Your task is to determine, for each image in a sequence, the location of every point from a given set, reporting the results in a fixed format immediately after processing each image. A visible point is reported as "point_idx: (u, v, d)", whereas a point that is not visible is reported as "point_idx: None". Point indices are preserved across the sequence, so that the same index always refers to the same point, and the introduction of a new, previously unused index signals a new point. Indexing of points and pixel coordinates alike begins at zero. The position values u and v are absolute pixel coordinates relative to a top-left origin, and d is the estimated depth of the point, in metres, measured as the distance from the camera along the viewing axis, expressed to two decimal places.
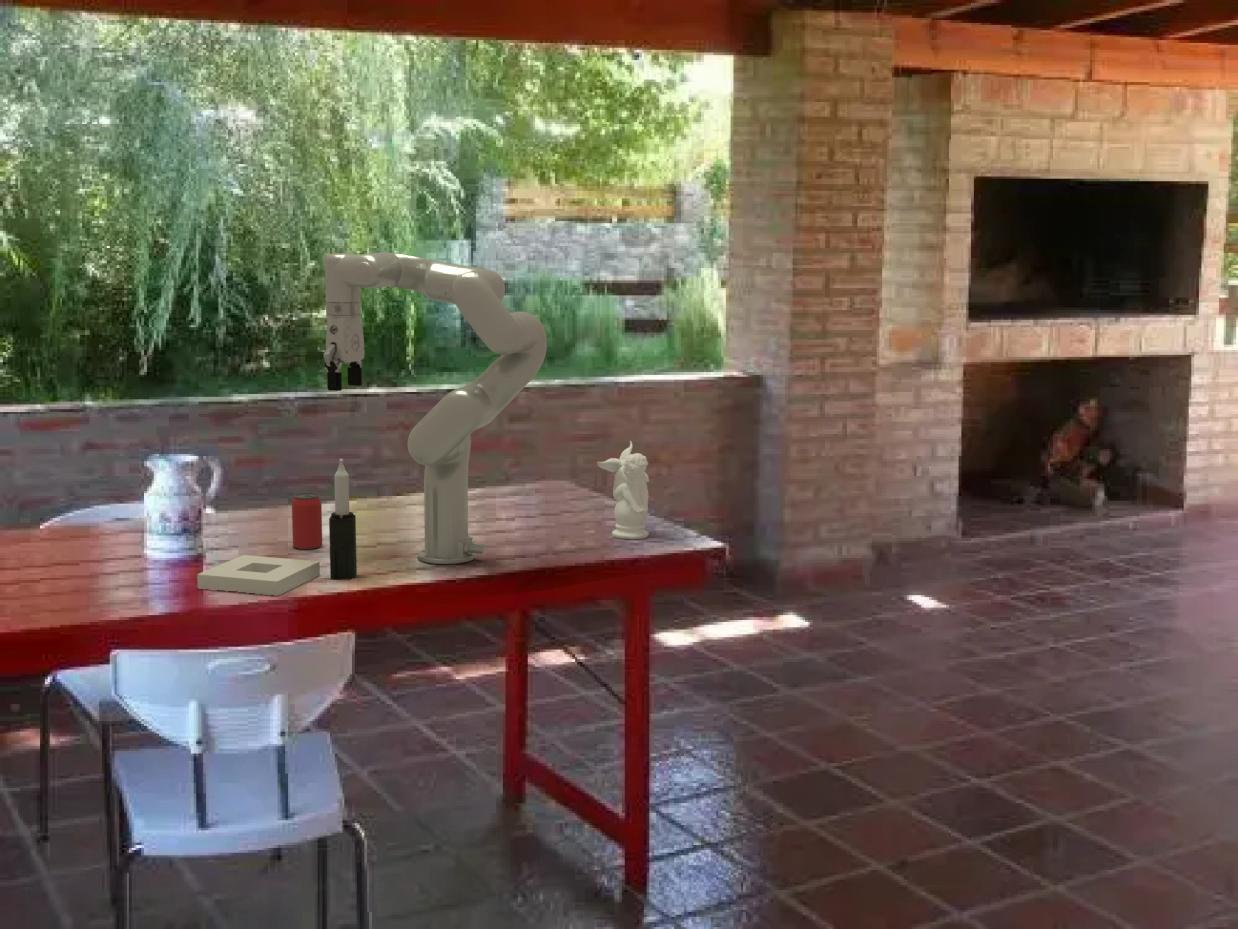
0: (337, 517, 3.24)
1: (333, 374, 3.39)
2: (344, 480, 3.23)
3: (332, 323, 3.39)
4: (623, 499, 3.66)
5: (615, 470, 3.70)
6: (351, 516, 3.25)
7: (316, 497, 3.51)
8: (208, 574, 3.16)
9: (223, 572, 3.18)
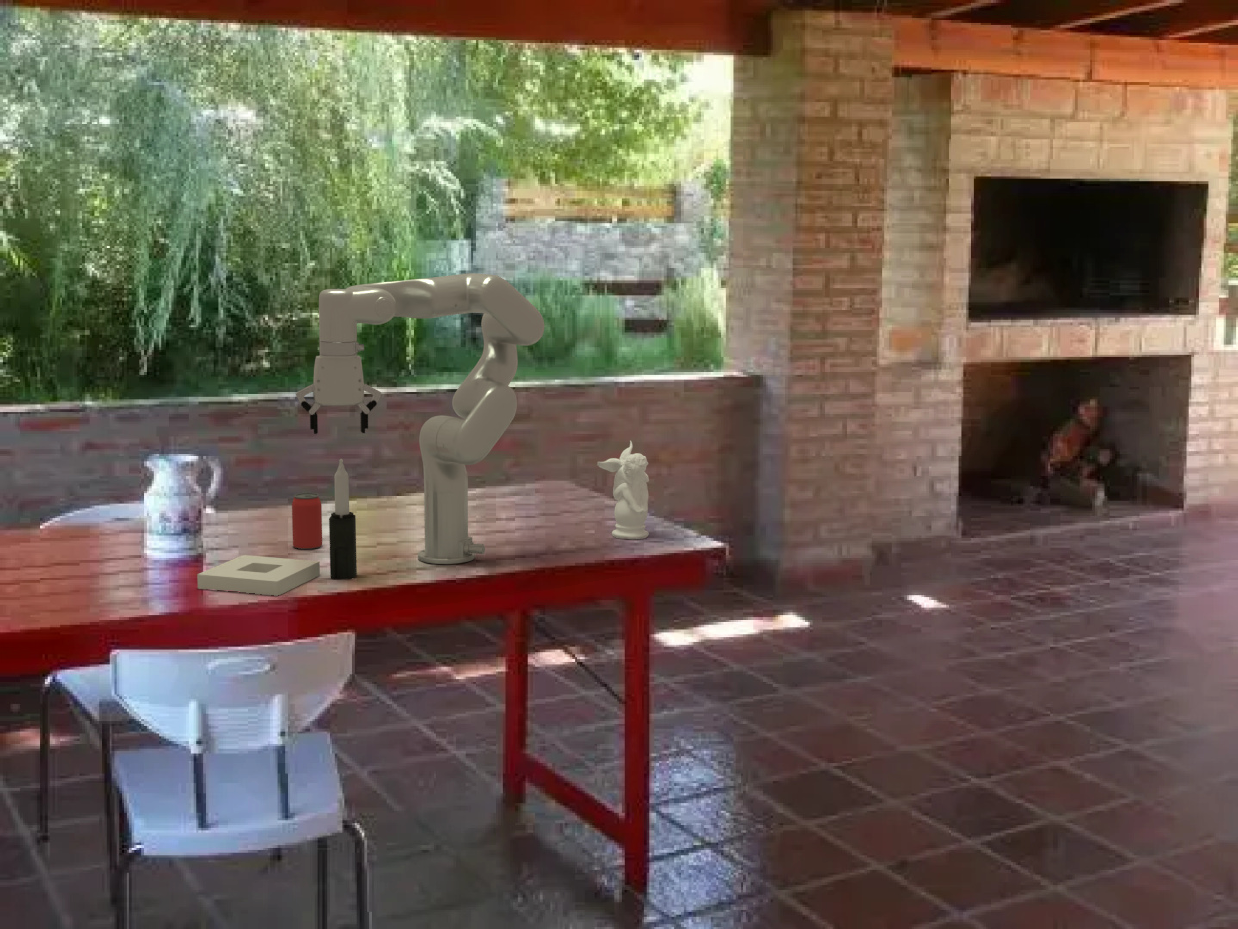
0: (337, 517, 3.24)
1: None
2: (344, 480, 3.23)
3: None
4: (623, 499, 3.66)
5: (615, 470, 3.70)
6: (351, 516, 3.25)
7: (316, 497, 3.51)
8: (208, 574, 3.16)
9: (223, 572, 3.18)
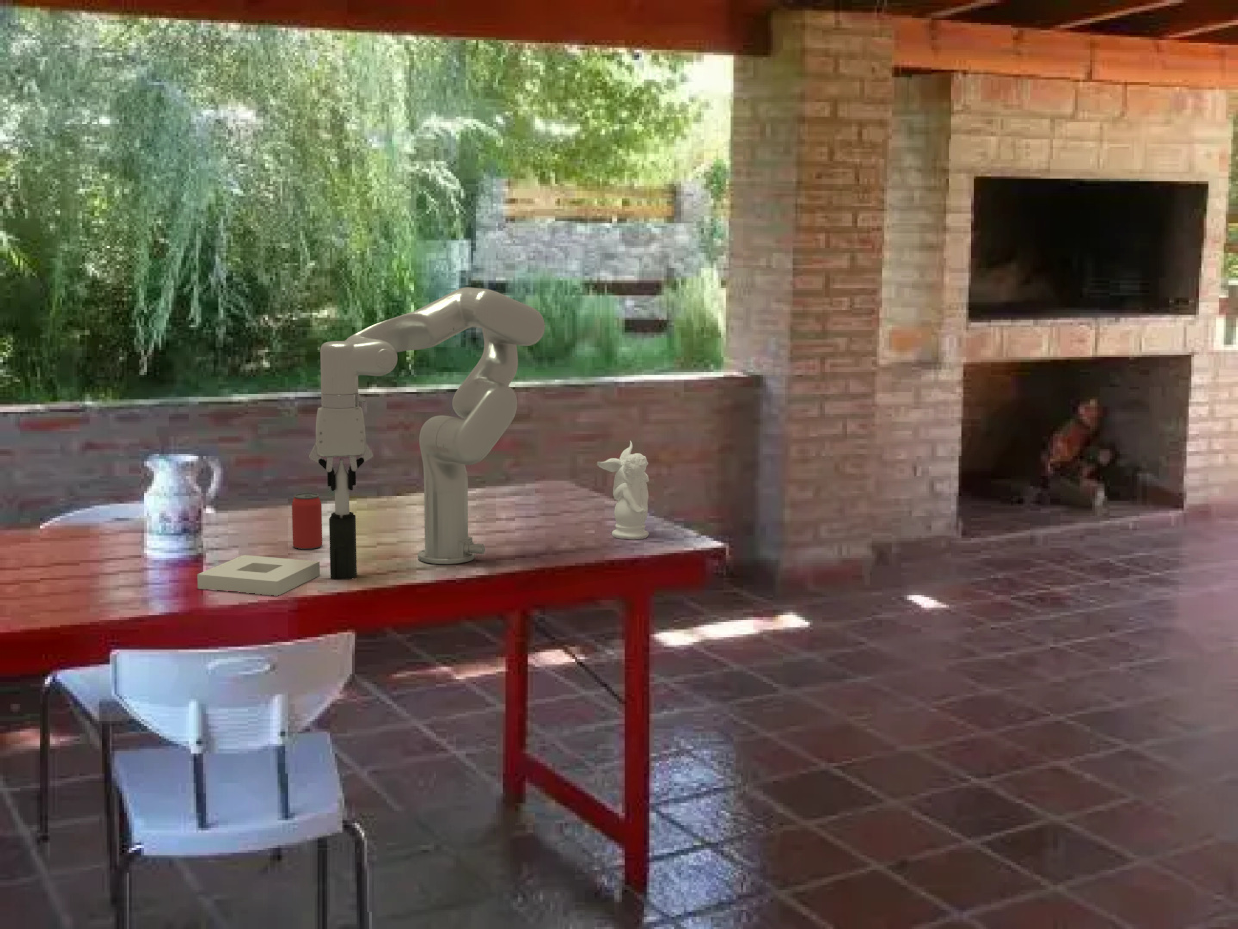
0: (337, 517, 3.24)
1: None
2: (344, 480, 3.23)
3: (362, 413, 3.23)
4: (623, 499, 3.66)
5: (615, 470, 3.70)
6: (351, 516, 3.25)
7: (316, 497, 3.51)
8: (208, 574, 3.16)
9: (223, 572, 3.18)
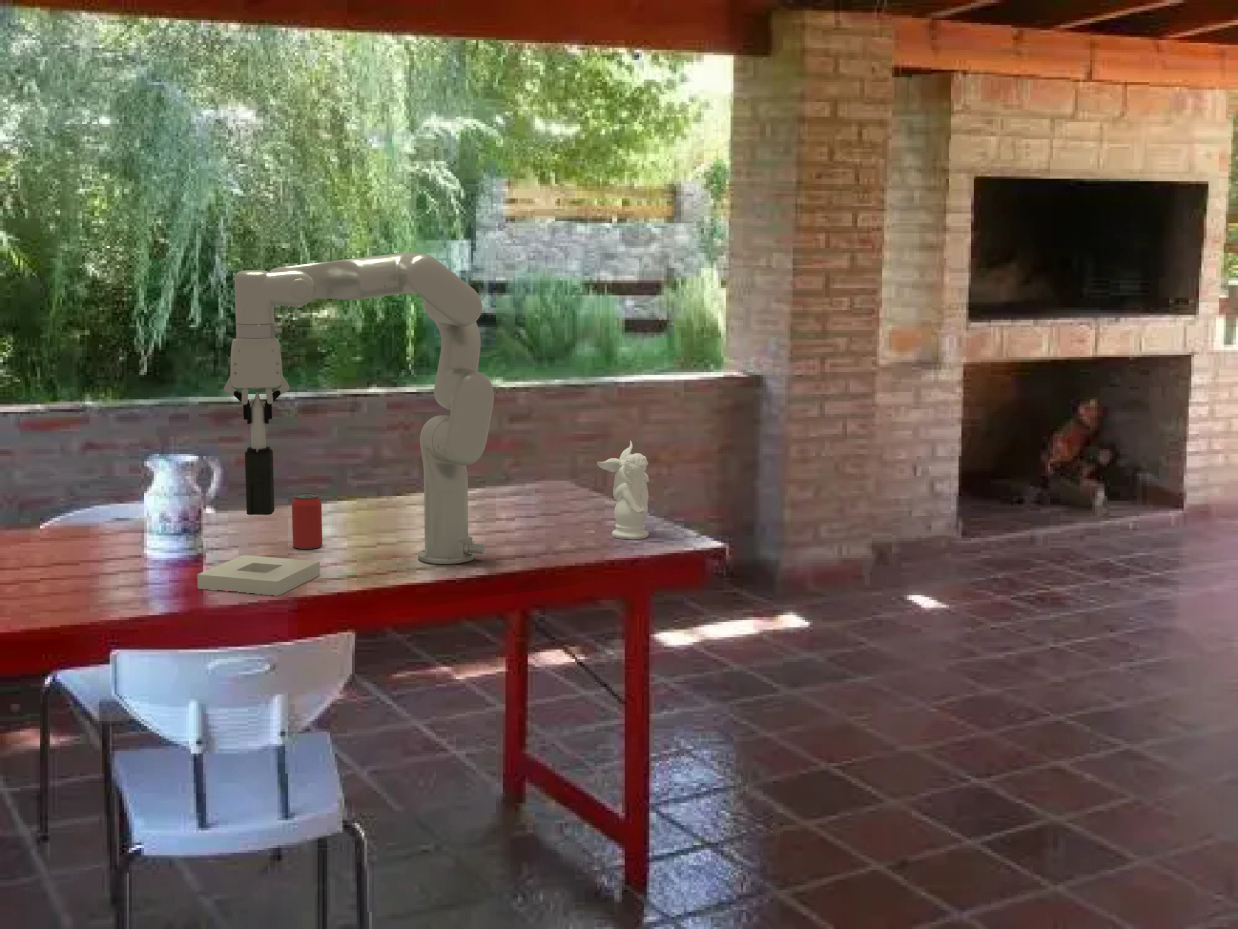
0: (253, 451, 3.16)
1: None
2: (260, 413, 3.16)
3: (279, 345, 3.15)
4: (623, 499, 3.66)
5: (615, 470, 3.70)
6: (267, 450, 3.17)
7: (316, 497, 3.51)
8: (208, 574, 3.16)
9: (223, 572, 3.18)
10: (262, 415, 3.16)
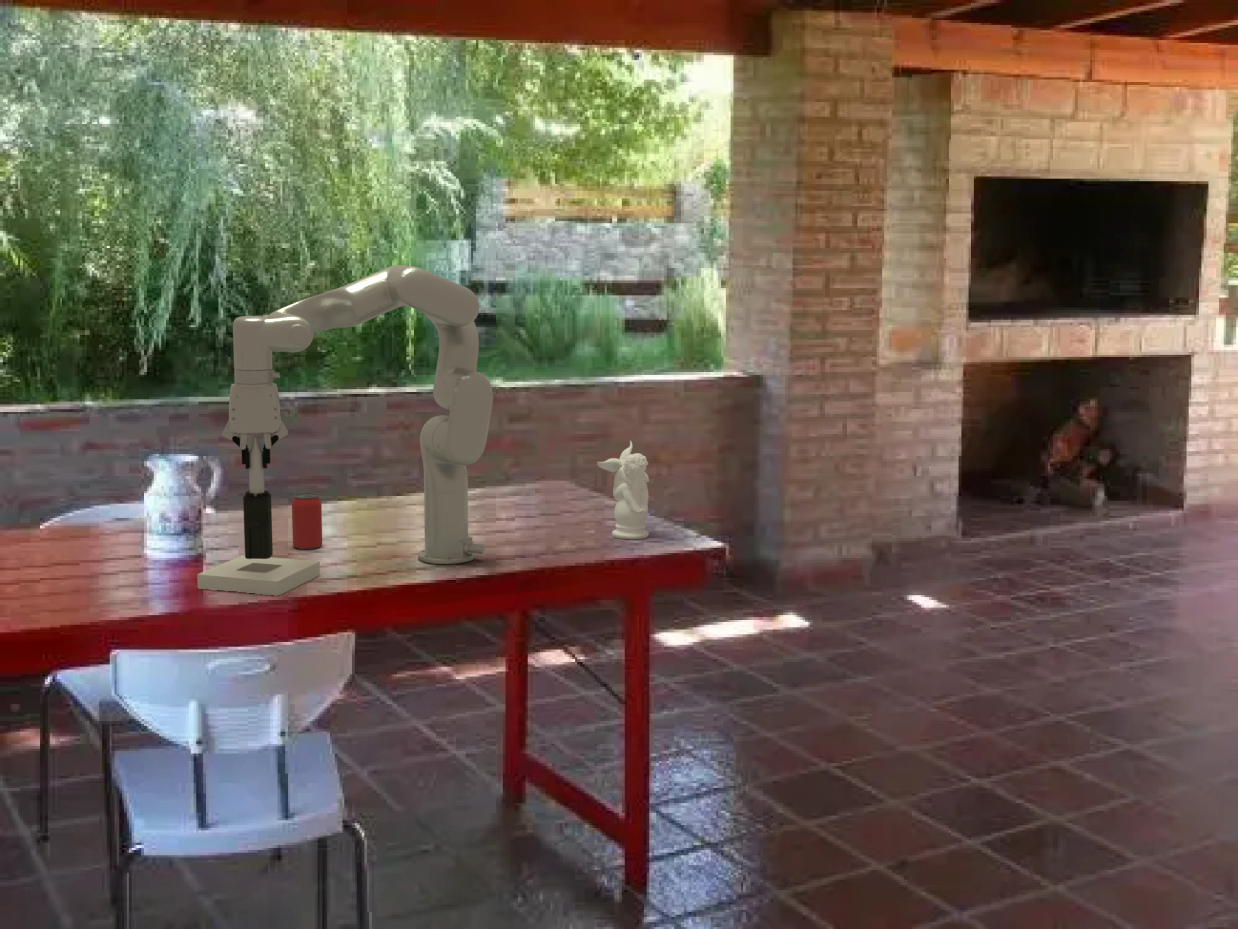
0: (251, 495, 3.17)
1: None
2: (258, 458, 3.17)
3: (277, 390, 3.16)
4: (623, 499, 3.66)
5: (615, 470, 3.70)
6: (266, 494, 3.18)
7: (316, 497, 3.51)
8: (208, 574, 3.16)
9: (223, 572, 3.18)
10: (260, 460, 3.17)
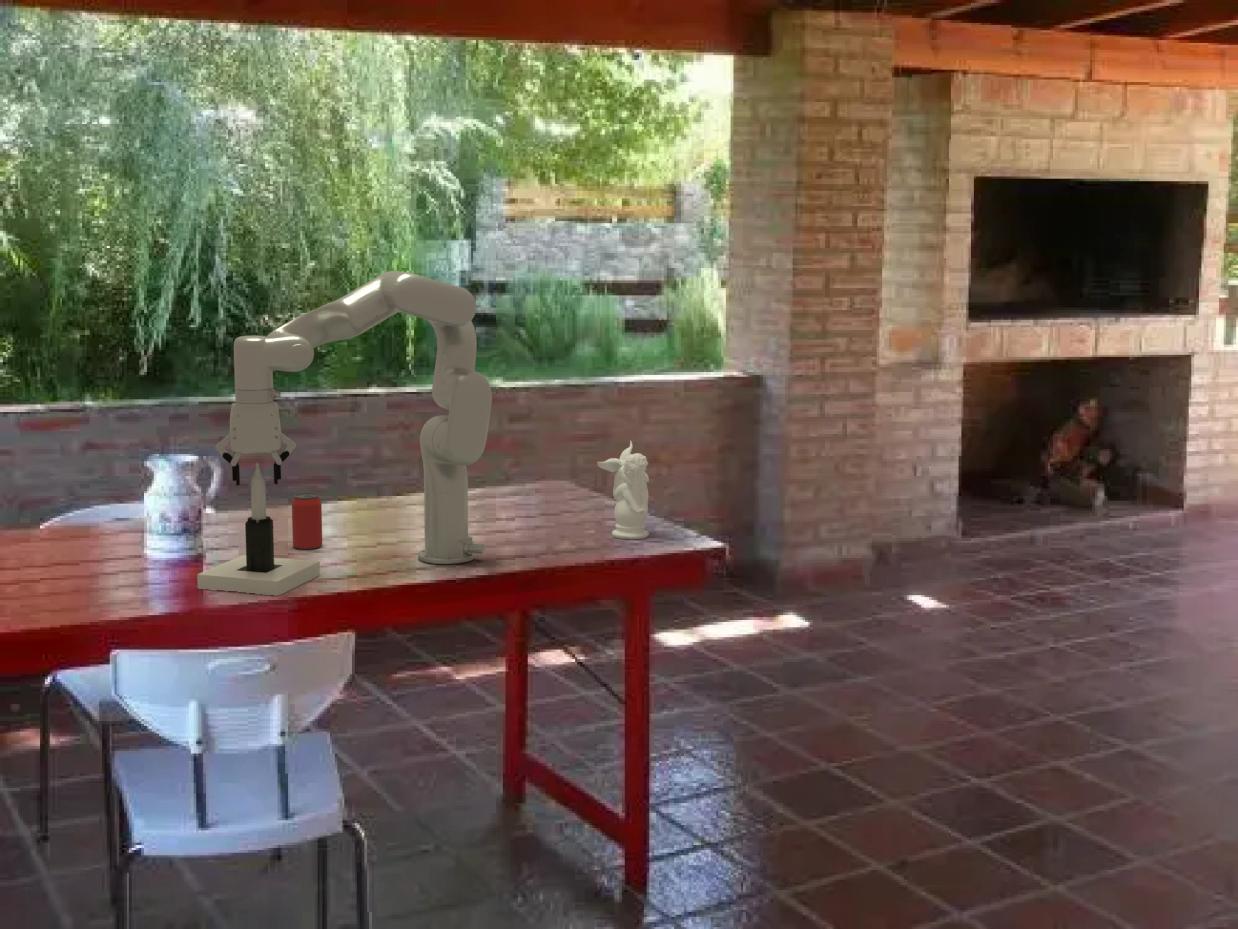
0: (253, 522, 3.18)
1: None
2: (260, 484, 3.18)
3: (277, 409, 3.17)
4: (623, 499, 3.66)
5: (615, 470, 3.70)
6: (268, 521, 3.20)
7: (316, 497, 3.51)
8: (208, 574, 3.16)
9: (223, 572, 3.18)
10: (262, 486, 3.18)
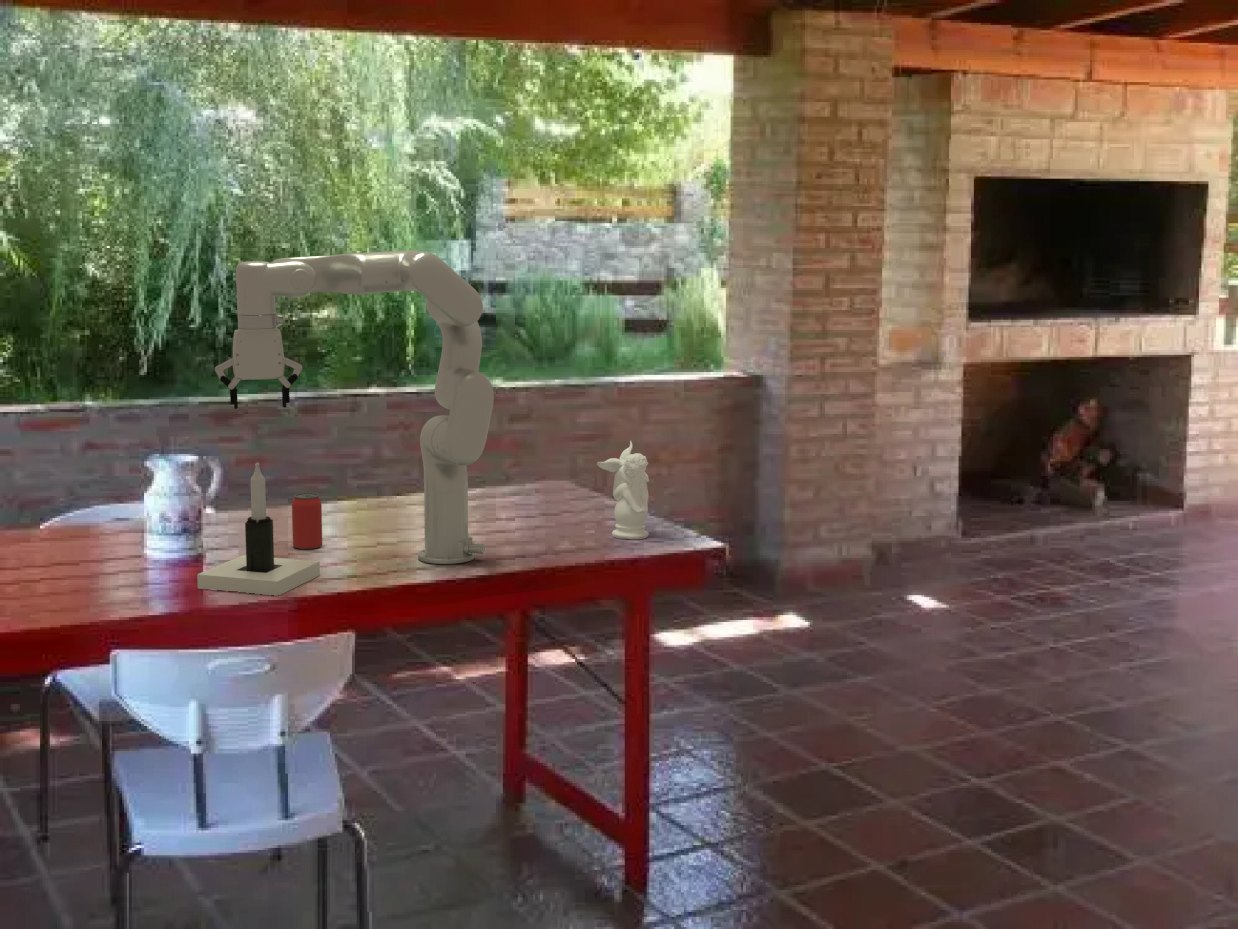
0: (253, 522, 3.18)
1: None
2: (260, 485, 3.18)
3: (280, 335, 3.16)
4: (623, 499, 3.66)
5: (615, 470, 3.70)
6: (268, 521, 3.20)
7: (316, 497, 3.51)
8: (208, 574, 3.16)
9: (223, 572, 3.18)
10: (262, 486, 3.18)
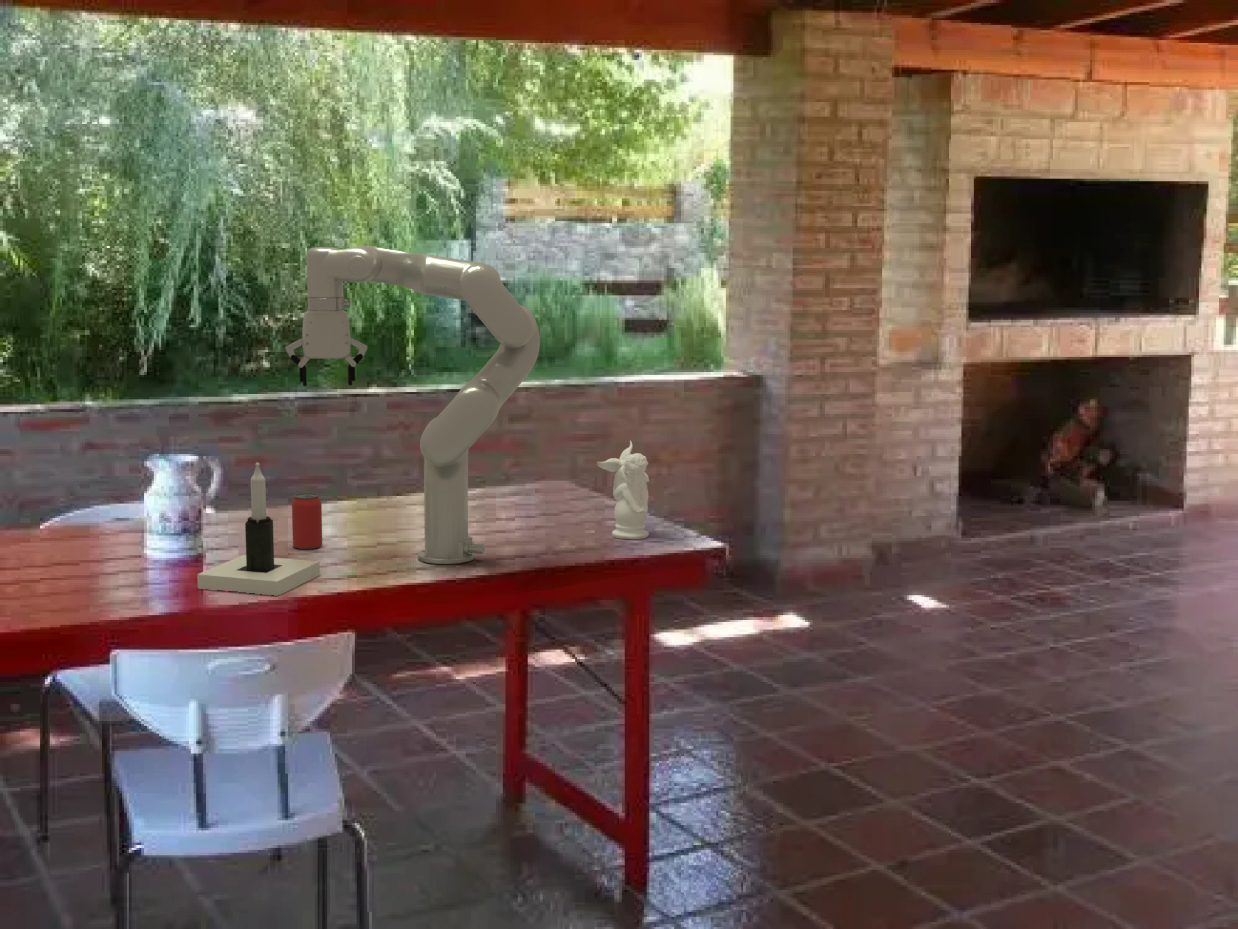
0: (253, 522, 3.18)
1: None
2: (260, 485, 3.18)
3: (347, 317, 3.36)
4: (623, 499, 3.66)
5: (615, 470, 3.70)
6: (268, 521, 3.20)
7: (316, 497, 3.51)
8: (208, 574, 3.16)
9: (223, 572, 3.18)
10: (262, 486, 3.18)
